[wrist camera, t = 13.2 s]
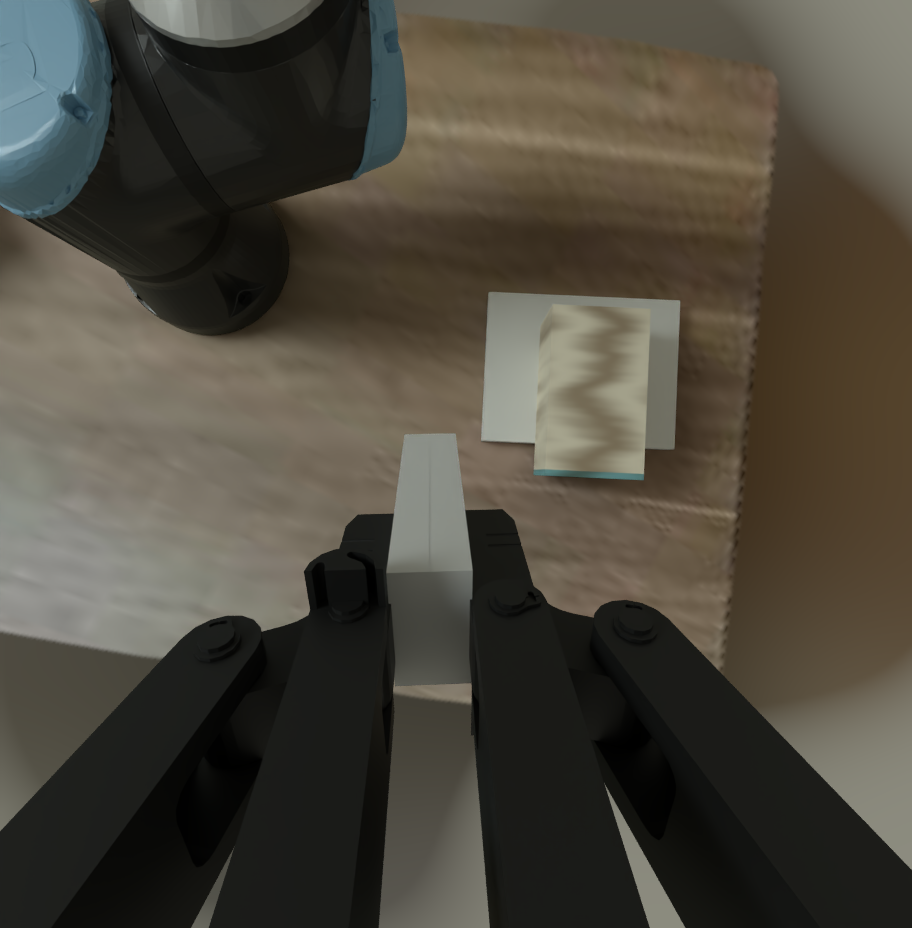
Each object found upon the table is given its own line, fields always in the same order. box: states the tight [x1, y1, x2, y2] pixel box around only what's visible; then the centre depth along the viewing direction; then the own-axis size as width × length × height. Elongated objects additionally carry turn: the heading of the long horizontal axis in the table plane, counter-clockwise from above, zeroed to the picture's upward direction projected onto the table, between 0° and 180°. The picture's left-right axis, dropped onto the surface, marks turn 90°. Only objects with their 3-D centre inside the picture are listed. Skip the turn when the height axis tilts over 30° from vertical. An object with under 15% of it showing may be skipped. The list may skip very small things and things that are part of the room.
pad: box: [481, 292, 680, 450], centre depth 47 cm, size 18×14×2 cm
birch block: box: [534, 304, 651, 480], centre depth 43 cm, size 8×6×14 cm
